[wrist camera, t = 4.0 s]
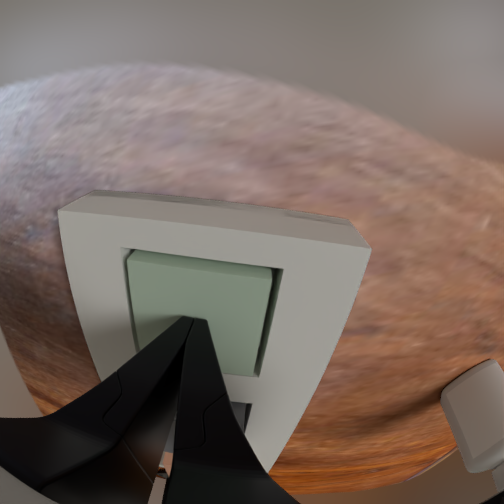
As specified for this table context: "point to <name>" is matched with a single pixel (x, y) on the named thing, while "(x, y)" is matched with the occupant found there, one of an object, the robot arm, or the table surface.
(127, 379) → the robot arm
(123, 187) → the table surface
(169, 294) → the sage key
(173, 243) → the keypad frame
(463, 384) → the eye dropper bottle
